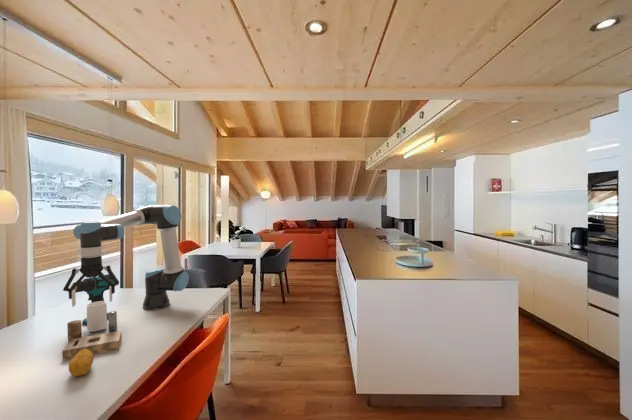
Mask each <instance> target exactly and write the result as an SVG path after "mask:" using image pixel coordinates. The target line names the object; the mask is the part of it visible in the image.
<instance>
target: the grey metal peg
mask: <svg viewBox="0 0 632 420" xmlns="http://www.w3.org/2000/svg"><path fill="white" fill-rule="evenodd" d="M107 313H108V319H107V322H108V333H110V332H116V331H118V319H117V317H118V315H117V311H116V310H112V311H109V312H107Z"/></svg>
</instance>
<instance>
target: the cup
mask: <svg viewBox="0 0 632 420" xmlns="http://www.w3.org/2000/svg"><path fill="white" fill-rule="evenodd" d="M107 313H108V310H107V302H106V301H105V300H104V301H97V302H92V303H91V302H90V303H88V304H87V305H86V318H87V323H86V325H87V331H88V332H91V333H92V332H93V333H94V332H99V331H102V330H105V329H107V328H108V319H107Z"/></svg>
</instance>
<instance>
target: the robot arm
mask: <svg viewBox="0 0 632 420" xmlns="http://www.w3.org/2000/svg"><path fill="white" fill-rule="evenodd" d="M181 220H182V213H181V210H180V208H179V207H177V206H176V205H173V204H150V205H147V206H142V207H139V208H135V209H133V210H131V212H128V213H124V214H121V215H116V216H113V217H110V218H106V219H105V218H104V219H102V220H98V221H83V222H81V223H80V224H78V225H76V226H74V227H73V228H74V229H73V232H72V233H73V236H74V238H75V239H78V240H80V256H81V258H80V268H76V267H74V268H72V269H71V275H70V276H69V278H68V280H67V282H66V283H65V285H64V287H63V289H62V291H63V292H68V299H69V300H71V307H72V308H74V307H75V306H76V304H77V303H76V302H77V301H76V299H77V298H76V293H75V290H73V289H74V288H75V287H76V286H77V285H78V284H79V283H80V281H83V280H84V279H85V278H86V279H87V278H90V277H97V276H99V277H100V278H102V279H103V280H104V281H105V282H106V283H108V284H109V285H110V287H109V289H108V290H109V291H108V293H109V294H108V295H109V296H108V297H109V303H110V302H111V303H112V301H113V294H115V292H116V286H119V284H120V281H119V280H118V278H117V276H116V274H115V273H114V272H113V270H112V268H111V267H112V266H111V265H110V264H108V265H104V266H103V262H102V261H103V260H102V259H103V257H102V254H103V253H102V242H107V241H113V240H114V241H116V240H120V239H122V238H124V236H125V232H126V231H125V229H128V228H131V227H134V226H142V225H156V229H157V231H159V232H160V237H161V239H160V240H161V246H162V247H161V248H162V252H163V260H164V267H163V268H156V269H151V270H148V271H146V272H145V278H144V279H145V280H144V283H145V296H144V299H143V303H142V309H144V310H149V311H150V310H151V311H152V310H159V309H164V308H167V307H168V306H169V305H170V298H169V295H168V293H167V291H173V292H180V291H183V290H185V289H186V287H187V286H188V283H189V280H190V275H189V273H188V272H187V271H185V269H184V267H183V265H181V258H180V251H179V245H178V244H179V243H178V233H177V228H178V227H179V223H181ZM103 270H104V271H106V272H107V274H109V275H110V276H111V278H112V279H113V281H114V282H115V283H113V282H112V281H111V280H110V279H109V278H107V277H106V276H105V275H106V274H104V273H103ZM79 272H80V273H81V274H82V275H81V276H80V277H79V278H78V279H77V281H75V284H74V285H73V286H72V282H73V280H74V279H75V276H76V275H77V274H78V273H79ZM71 286H72V287H71ZM70 287H71V288H70Z"/></svg>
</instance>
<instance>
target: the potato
mask: <svg viewBox="0 0 632 420" xmlns="http://www.w3.org/2000/svg"><path fill="white" fill-rule="evenodd" d="M93 363H94V354H92V352H91V351H90V350H87V349H83V350H81V351H79V352H78V353H77V354H76V355H75V357H73V358H72V359H70V361H69V363H68V372H69V373H70V375H71V376H74V377H79V376H84V375H87V374H88V372H89V371H90V370H91V368H92V365H93Z"/></svg>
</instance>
